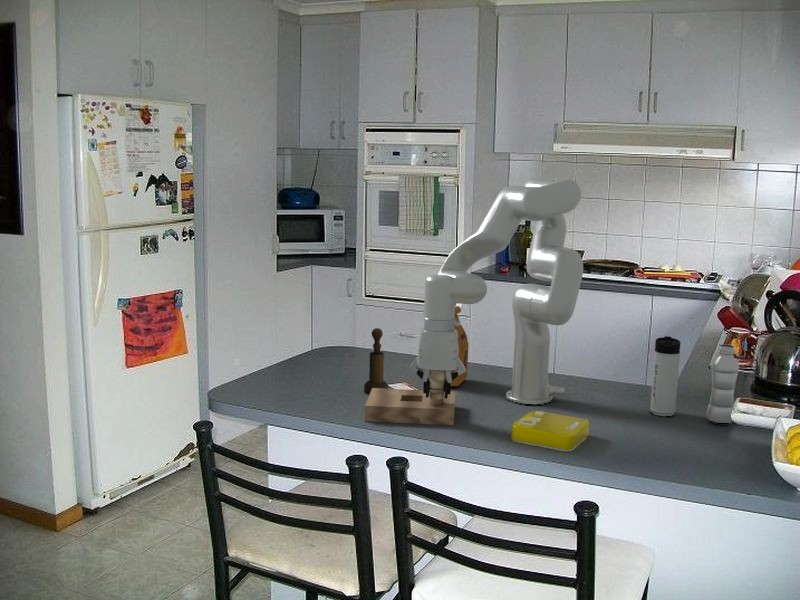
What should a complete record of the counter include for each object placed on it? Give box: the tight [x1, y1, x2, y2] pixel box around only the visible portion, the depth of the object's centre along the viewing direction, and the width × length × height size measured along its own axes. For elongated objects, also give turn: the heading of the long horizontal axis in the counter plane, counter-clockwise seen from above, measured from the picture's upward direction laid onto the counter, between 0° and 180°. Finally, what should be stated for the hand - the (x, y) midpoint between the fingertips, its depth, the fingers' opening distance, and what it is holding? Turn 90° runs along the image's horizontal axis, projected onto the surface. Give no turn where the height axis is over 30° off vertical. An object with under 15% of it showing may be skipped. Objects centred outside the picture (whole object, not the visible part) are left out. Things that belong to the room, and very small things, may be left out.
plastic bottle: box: [706, 344, 740, 424], centre depth 219 cm, size 6×7×20 cm
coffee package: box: [445, 305, 469, 387], centre depth 250 cm, size 10×12×22 cm
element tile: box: [510, 409, 590, 450], centre depth 206 cm, size 15×15×5 cm
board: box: [364, 388, 456, 426], centre depth 222 cm, size 22×16×4 cm
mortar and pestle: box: [363, 327, 389, 395], centre depth 240 cm, size 7×6×18 cm
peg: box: [428, 370, 446, 405], centre depth 218 cm, size 4×4×10 cm
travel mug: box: [649, 335, 681, 414], centre depth 226 cm, size 6×7×20 cm
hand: (436, 395), depth 218 cm, fingers closed on peg, 4 cm apart
